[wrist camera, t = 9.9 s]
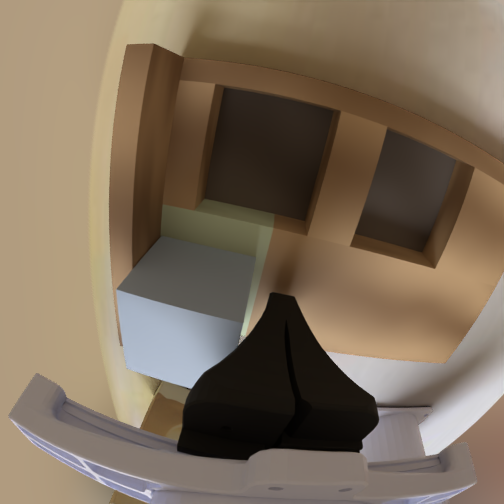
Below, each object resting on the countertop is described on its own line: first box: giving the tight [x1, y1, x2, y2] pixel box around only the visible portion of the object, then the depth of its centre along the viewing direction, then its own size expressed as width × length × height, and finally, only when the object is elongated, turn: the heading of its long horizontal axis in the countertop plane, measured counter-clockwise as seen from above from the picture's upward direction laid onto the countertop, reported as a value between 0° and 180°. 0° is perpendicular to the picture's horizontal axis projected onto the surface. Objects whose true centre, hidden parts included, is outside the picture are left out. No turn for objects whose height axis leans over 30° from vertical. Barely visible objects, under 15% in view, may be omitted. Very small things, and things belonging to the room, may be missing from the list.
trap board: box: [109, 44, 504, 363], centre depth 12 cm, size 13×20×5 cm, turn 79°
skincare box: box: [109, 381, 190, 504], centre depth 17 cm, size 6×4×12 cm
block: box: [116, 236, 256, 389], centre depth 12 cm, size 4×4×4 cm
